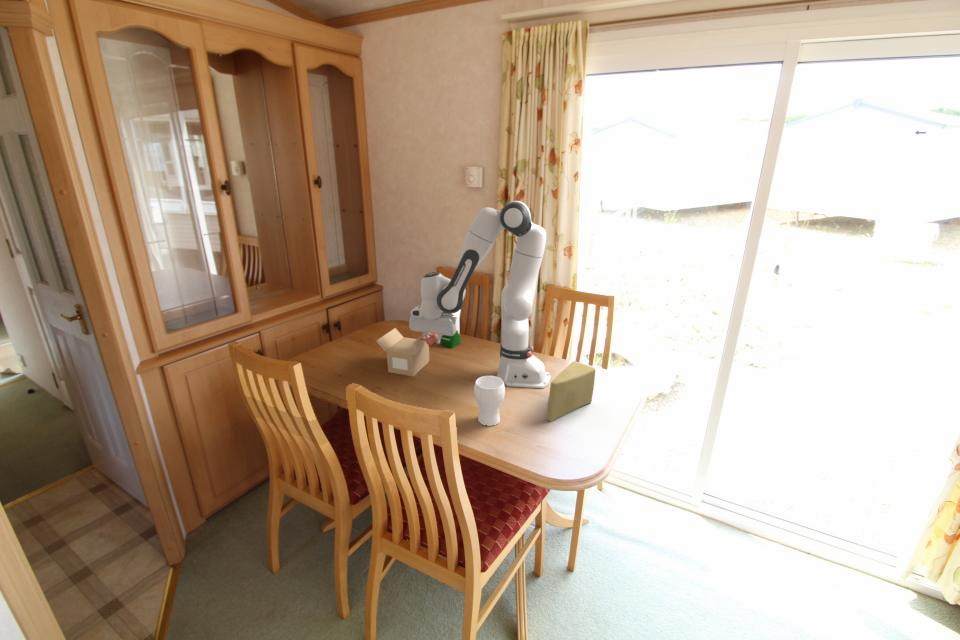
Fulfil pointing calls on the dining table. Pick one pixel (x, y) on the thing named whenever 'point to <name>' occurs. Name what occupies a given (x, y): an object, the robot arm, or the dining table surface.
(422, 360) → the carton
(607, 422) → the dining table surface
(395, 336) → the open flap
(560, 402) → the cheese
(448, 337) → the milk carton
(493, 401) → the cup
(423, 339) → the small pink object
